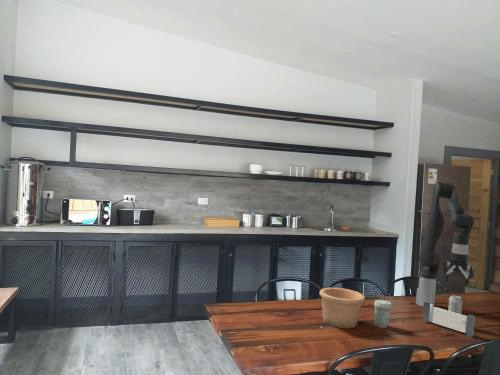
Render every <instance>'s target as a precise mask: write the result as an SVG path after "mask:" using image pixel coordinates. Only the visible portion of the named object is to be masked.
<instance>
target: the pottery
mask: <svg viewBox="0 0 500 375" xmlns="http://www.w3.org/2000/svg"><path fill="white" fill-rule="evenodd" d="M319 296H320V297H321V306H322V307H321V309H322V310H321V311H322V320H323V322H324V323H325V324H327V325H329V326H331V327H335V328H338V329H339V328H340V329H354V328H357V327H358V322H359V317H360V312H361V308H362V304H363V303H364V302H365V298H366V296H365V295H364V294H363V293H360V292H359V291H355V290H352V289H348V288H342V287H341V288H340V287H326V288H321V289H320V290H319Z"/></svg>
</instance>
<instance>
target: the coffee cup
mask: <svg viewBox="0 0 500 375" xmlns="http://www.w3.org/2000/svg"><path fill="white" fill-rule="evenodd" d="M373 305H374V325H375V327H377V328H381V329H386V328H388V325H389V321H390V318H391V317H390V314H391V311H392V308H393V306H392V303H391V302H390V301H388V300H386V299H375V301H374V303H373Z"/></svg>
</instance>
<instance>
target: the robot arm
mask: <svg viewBox="0 0 500 375" xmlns="http://www.w3.org/2000/svg"><path fill="white" fill-rule="evenodd" d="M440 198H441V199H448V200H449V201H448V202H447V204H446V208H447V211H448V214H449V215H450V223H451V225H452V226H453V228H460V229H462V230H461V231H456V232H453V234H452V235H453V236H452V246H451V254H450V256H451V257H450V261H448V260H445V261H444V262H443V267H442V268H443V270H442V272H443V273H444V274H446V276H445V277H446V279H445V280H446V281H447V282H448V283H449V282H451V276H452V275H451V274H452V272H454V273H455V272H456V273H457V272H458V273H460V274H461V273H462V274H463V276H464V277H465V278H464V286H467V287H468V286H469V285H470V280H471V279H473V278H474V277H475V266H474V265H468V258H469V239H470V234H471V232H472V229H473V227H474V225H475V224H474V223H475V218H474V217H473V216H472V215H471V214H466V213H465V212H466V211H465V210H464V207H463V206H462V204H461V202H460V199H459V196H458V192H457V189H456V187H455V185H454V184H453V183H449V182H441V181H436V182H435V183H434V185H433V188H432V194H431V202H430V209H429V214H428V218H427V223H426V227H425V232H424V236H423V241H422V242H423V243H422V245H421V249H420V252H419V253H418V254H419V255H418V261H419V264H421V266H422V268H421V270H420V271H419V277H418V279H419V283H418V287H417V289H416V297H415V304H416V305H418V306H419V307H422V308H423V307H424V302H428V303H430V304H434V305H435V300H436V299H435V297H436V286H437V285H436V284H437V276H438V274H439V268H440V256H439V254H438V252H436V251H435V250H436V246H437V243H438V241H439V240H440V238H441V236H442V235H443V232H444V229H445V224H446V221H445V216H444V214H443V212H442V209H441V207H440ZM449 266H450V268H449ZM448 268H449V269H448ZM467 269H468V270H469V272H468V271H467Z"/></svg>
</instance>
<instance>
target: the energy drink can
mask: <svg viewBox="0 0 500 375" xmlns="http://www.w3.org/2000/svg"><path fill="white" fill-rule="evenodd" d="M462 308H463V299H462V297H461V296H459V295H453V294H451V295H450V297H449V298H448V308H447V309H448V310H447V311H451V312H454V313H458V314H461V315H462V310H463V309H462Z"/></svg>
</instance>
